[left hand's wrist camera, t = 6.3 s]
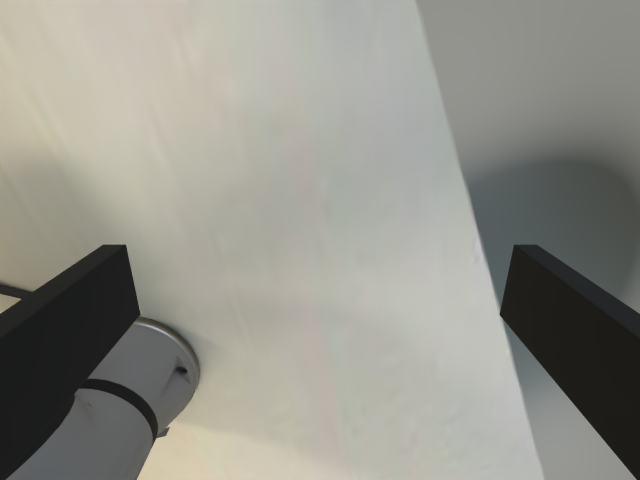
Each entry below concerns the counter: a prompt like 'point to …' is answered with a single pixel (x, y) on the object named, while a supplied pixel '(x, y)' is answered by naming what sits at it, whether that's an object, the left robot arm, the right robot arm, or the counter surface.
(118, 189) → the counter surface
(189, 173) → the counter surface
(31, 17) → the counter surface
